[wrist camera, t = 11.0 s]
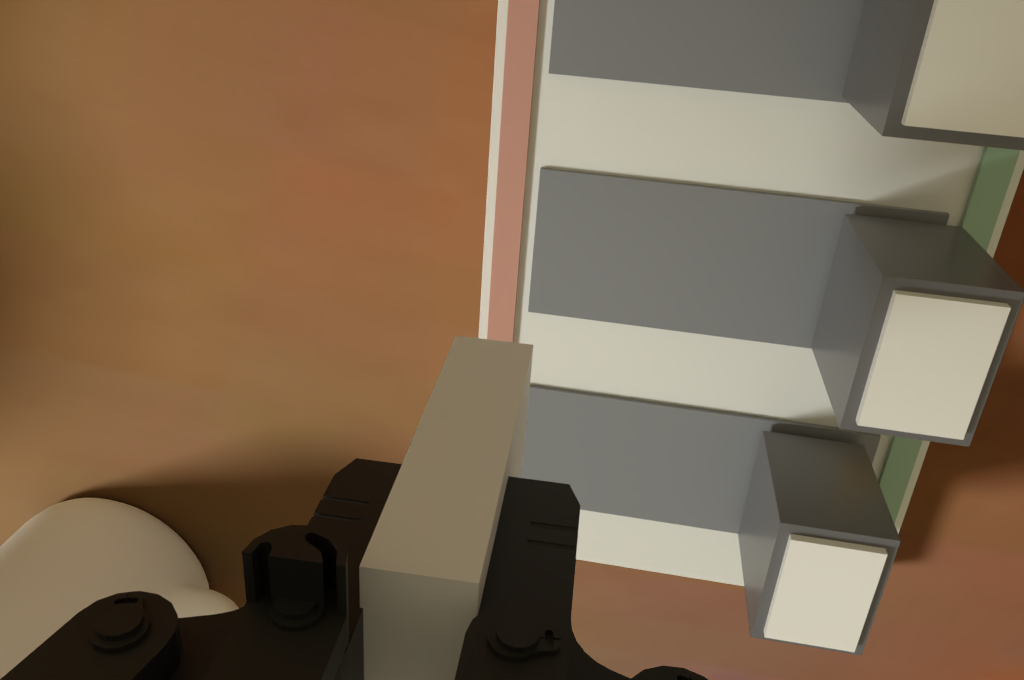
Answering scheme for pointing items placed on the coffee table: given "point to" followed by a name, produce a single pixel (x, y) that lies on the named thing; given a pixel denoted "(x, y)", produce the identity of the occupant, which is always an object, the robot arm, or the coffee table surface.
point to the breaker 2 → (941, 71)
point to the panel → (690, 251)
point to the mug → (91, 570)
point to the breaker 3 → (912, 329)
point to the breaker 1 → (815, 543)
